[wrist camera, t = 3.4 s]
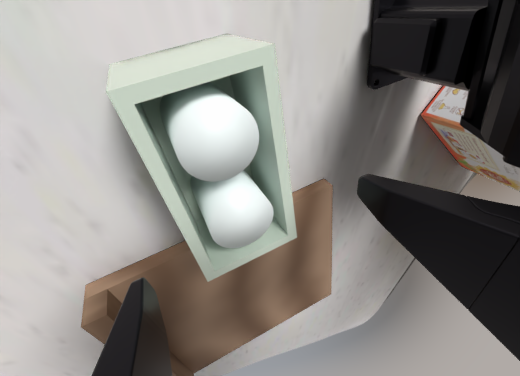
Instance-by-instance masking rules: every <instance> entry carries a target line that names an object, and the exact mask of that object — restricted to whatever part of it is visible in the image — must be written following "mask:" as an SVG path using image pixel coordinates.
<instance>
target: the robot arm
mask: <svg viewBox="0 0 520 376" xmlns="http://www.w3.org/2000/svg"><path fill="white" fill-rule="evenodd" d="M405 78H412V79H417V80H421V81H425V82H430V83H434V84H439V85H443V86H447V87H452V88H456V89H460V90H465V91H468V95H467V100H466V104H465V109H464V114H463V115H462V116H461V120H460V125H461V126H462V127H463V128H465V129H466V130H468V131H469V132H470V133H472V134H473V135H475V136H476V137H477V138H479V139H480V140H482V141H483V142H484V143H486V144H487V145H489V146H490V147H491V148H493V149H494V150H496V151H497V152H498V153H500V154H501V155H503V161H504V162H506V163H507V164H510V165H512V166H515V167H518V168H520V0H375V4H374V15H373V26H372V37H371V48H370V58H369V69H368V80H367V86H368V88H370V89H378V88H381V87H383V86H386V85H389V84H392V83H394V82H397V81H400V80H402V79H405ZM374 81H375V83H374ZM357 194H358V196H359V198H360V199H361V201H362V202H363V203H364V204H365V205H366V207H367V208H368V209H369V210H370V211H371V213H372V214H373V215H374V216H375V217H376V219H377V220H378V221H379V222H380V223H381V224H382V225H383V226H384V227H385V229H387V230H388V231H389V232H390V233H391V234H392V235H393V236H394V237H395V238H396V239H397V240H398V241H399V242H400V243H401V244H402V245H403V246H404V247H405V248H406V249H407V250H408V251H409V252H410V253H411V254H412V255H413V256H414V257H415V258H416V259H417V260H418V261H419V262H420V263H421V264H422V265H423V266H424V267H425V268H426V269H427V270H428V271H429V272H430V273H431V274H432V275H433V276H434V277H435V278H436V279H437V280H438V281H439V282H440V283H442V285H443V286H445V287H446V289H447V290H448V291H450V292H451V293H452V294H453V295H454V296H455V297H456V298H457V299H458V300H459V301H460V302H461V303H462V304H463V305H464V306H465V307H466V308H467V309H468V310H469V311H470V312H471V313H472V314H473V315H474V316H475V317H476V318H477V319H478V320H479V321H480V322H481V323H482V324H483V325H484V326H485V327H486V328H487V329H488V330H489V331H490V332H491V333H492V334H493V335H494V336H495V337H496V338H497V339H498V340H499V341H500V342H501V343H502V344H503V345H504V346H505V347H506V348H507V349H508V350H509V351H510V352H511V353H512V354H513V355H514V356H516V358H517V359H518V360H519V361H520V206H513V205H508V204H503V203H497V202H492V201H487V200H483V199H478V198H474V197H469V196H467V197H466V196H464V195H460V194H456V193H451V192H447V191H442V190H438V189H433V188H429V187H424V186H420V185H415V184H411V183H406V182H402V181H398V180H393V179H389V178H384V177H380V176H375V175H371V174H366V175H364V176H362V177H360V178H359V179H358V188H357ZM92 376H172V369H171V361H170V353H169V345H168V339H167V333H166V329H165V325H164V321H163V317H162V314H161V310H160V306H159V302H158V298H157V294H156V292H155V290H154V288H153V287H152V286H151V285H150V283H149V282H148V281H147V280H146V278H144V277H142V278H140V279H137V280H135V281H133V282H132V283H131V284H130V286H129V289H128V291H127V293H126V296H125V298H124V300H123V303H122V305H121V308H120V310H119V312H118V315H117V317H116V319H115V322H114V324H113V326H112V329H111V331H110V334H109V336H108V338H107V341H106V343H105V345H104V348H103V350H102V353H101V355H100V357H99V360H98V362H97V364H96V367H95V369H94V372H93V374H92Z"/></svg>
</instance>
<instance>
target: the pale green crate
mask: <svg viewBox="0 0 520 376" xmlns="http://www.w3.org/2000/svg"><path fill="white" fill-rule="evenodd" d="M106 93H107V95H108V97H109V99H110V100H111V102H112V104H113V106H114V108H115V110H116V112H117V113H118V115H119V117H120V119H121V121H122V123H123V125H124V127H125V128H126V130H127V132H128V134H129V136H130V138H131V140H132V141H133V143H134V145H135V147H136V149H137V151H138V153H139V154H140V156H141V158H142V160H143V162H144V164H145V166H146V168H147V169H148V171H149V173H150V175H151V177H152V179H153V181H154V182H155V184H156V186H157V188H158V190H159V192H160V194H161V196H162V197H163V199H164V201H165V203H166V205H167V207H168V209H169V210H170V212H171V214H172V216H173V218H174V220H175V222H176V223H177V225H178V227H179V229H180V231H181V233H182V235H183V237H184V238H185V240H186V242H187V244H188V246H189V248H190V250H191V251H192V253H193V255H194V257H195V259H196V261H197V263H198V264H199V266H200V268H201V270H202V272H203V274H204V276H205V278H206V279H207V281H208V282H209V281H211V280H213V279H215V278H217V277H219V276H221V275H223V274H225V273H227V272H229V271H231V270H233V269H235V268H237V267H239V266H241V265H243V264H245V263H247V262H249V261H251V260H253V259H255V258H257V257H259V256H261V255H263V254H265V253H267V252H269V251H271V250H273V249H275V248H277V247H279V246H281V245H283V244H285V243H287V242H289V241H291V240H293V239H295V238H297V232H296V223H295V215H294V206H293V197H292V189H291V180H290V172H289V163H288V154H287V146H286V137H285V128H284V120H283V111H282V102H281V94H280V85H279V77H278V68H277V59H276V51H275V44H273V43H269V42H264V41H259V40H254V39H249V38H244V37H240V36H235V35H230V34H224V35H220V36H216V37H213V38H209V39H205V40H201V41H197V42H193V43H190V44H186V45H182V46H178V47H174V48H170V49H167V50H163V51H159V52H155V53H151V54H147V55H143V56H140V57H136V58H132V59H128V60H124V61H120V62H117V63H113V64H109V71H108V79H107V87H106Z"/></svg>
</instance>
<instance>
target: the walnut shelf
mask: <svg viewBox="0 0 520 376" xmlns="http://www.w3.org/2000/svg"><path fill="white" fill-rule="evenodd" d="M332 196H333V185H331V184H330V183H329V182H328V181H327V180H325V179H322V180H320V181H318V182H315V183H313V184H311V185H309V186H306V187H304V188H302V189H300V190H297V191H295V192H293V193H292V197H293V206H294V215H295V223H296V232H297V238H295V239H293V240H291V241H289V242H287V243H285V244H283V245H281V246H279V247H277V248H275V249H273V250H271V251H269V252H267V253H265V254H263V255H261V256H259V257H257V258H255V259H253V260H251V261H249V262H247V263H245V264H243V265H241V266H239V267H237V268H235V269H233V270H231V271H229V272H227V273H225V274H223V275H221V276H219V277H217V278H215V279H213V280H211V281H209V282H208V281H207V279H206V278H205V276H204V274H203V272H202V270H201V268H200V266H199V264H198V263H197V261H196V259H195V257H194V255H193V253H192V251H191V250H190V248H189V246H188V244H187V242H186V241H183V242H181V243H179V244H177V245H174V246H172V247H170V248H168V249H165V250H163V251H161V252H159V253H156V254H154V255H152V256H150V257H148V258H145V259H143V260H141V261H139V262H136V263H134V264H132V265H130V266H127V267H125V268H123V269H121V270H118V271H116V272H114V273H112V274H110V275H107V276H105V277H103V278H101V279H98V280H96V281H94V282H92V283H89V284H87V285H86V287H85V296H84V305H83V314H82V323H81V328H83V329H84V330H86V331H87V332H88V333H90V334H91V335H92V336H94V337H95V338H97V339H98V340H99V341H101V342H102V343H104V344H105V343H106V341H107V338H108V336H109V334H110V331H111V329H112V326H113V324H114V322H115V319H116V317H117V315H118V312H119V310H120V308H121V305H122V303H123V300H124V298H125V296H126V293H127V291H128V289H129V286H130V284H131V283H132V282H133V281H135V280H137V279H140V278H142V277H144V278H146V280H147V281H148V282H149V283H150V285H151V286H152V287H153V288H154V290H155V292H156V294H157V298H158V302H159V306H160V310H161V314H162V317H163V321H164V325H165V329H166V333H167V339H168V345H169V353H170V361H171V369H172V376H194V373H195V372H197V371H199V370H201V369H202V368H204V367H206V366H208V365H209V364H211V363H213V362H214V361H216V360H218V359H220V358H221V357H223V356H225V355H227V354H228V353H230V352H232V351H233V350H235V349H237V348H239V347H240V346H242V345H244V344H246V343H247V342H249V341H251V340H253V339H254V338H256V337H258V336H259V335H261V334H263V333H265V332H266V331H268V330H270V329H272V328H273V327H275V326H277V325H278V324H280V323H282V322H284V321H285V320H287V319H289V318H291V317H292V316H294V315H296V314H297V313H299V312H301V311H303V310H304V309H306V308H308V307H310V306H311V305H313V304H315V303H316V302H318V301H320V300H322V299H323V298H325V297H327V296H329V295H330V294H331V270H332Z"/></svg>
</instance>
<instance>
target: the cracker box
mask: <svg viewBox="0 0 520 376" xmlns="http://www.w3.org/2000/svg"><path fill="white" fill-rule="evenodd" d="M467 95H468V91H465V90H460V89H456V88H452V87H447V86H443V87H442V88H441V89H440V91H439V92H438V93H437V95H436V96H435V97H434V98H433V100H432V101H431V102H430V104H429V105H428V106H427V107H426V109H425V110H424V111H423V113H422V114H421V116H422V118H423V119H424V120H425V121H426V123H427V124H428V125H429V126H430V128H431V129H432V130H433V132H434V133H435V134H436V135H437V137H438V138H439V139H440V140H441V141H442V143H443V144H444V145H445V146H446V148H447V149H448V150H449V152H450V153H451V154H452V155H453V157H454V158H455V159H456V160H457V162H458V163H459V164H460V165H461V166H462V167H464V168H466V169H469V170H471V171H473V172H475V173H477V174H480V175H482V176H485V177H487V178H489V179H491V180H494V181H496V182H498V183H500V184H503V185H505V186H507V187H510V188H512V189H514V190H517V191H519V192H520V168H518V167H515V166H512V165H510V164H507V163H506V162H504V161H503V155H501V154H500V153H498V152H497V151H496V150H494V149H493V148H491V147H490V146H489V145H487V144H486V143H484V142H483V141H482V140H480V139H479V138H477V137H476V136H475V135H473V134H472V133H470V132H469V131H468V130H466V129H465V128H463V127H462V126H461V125H460V120H461V116H462V115H463V114H464V109H465V104H466V100H467Z"/></svg>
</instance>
